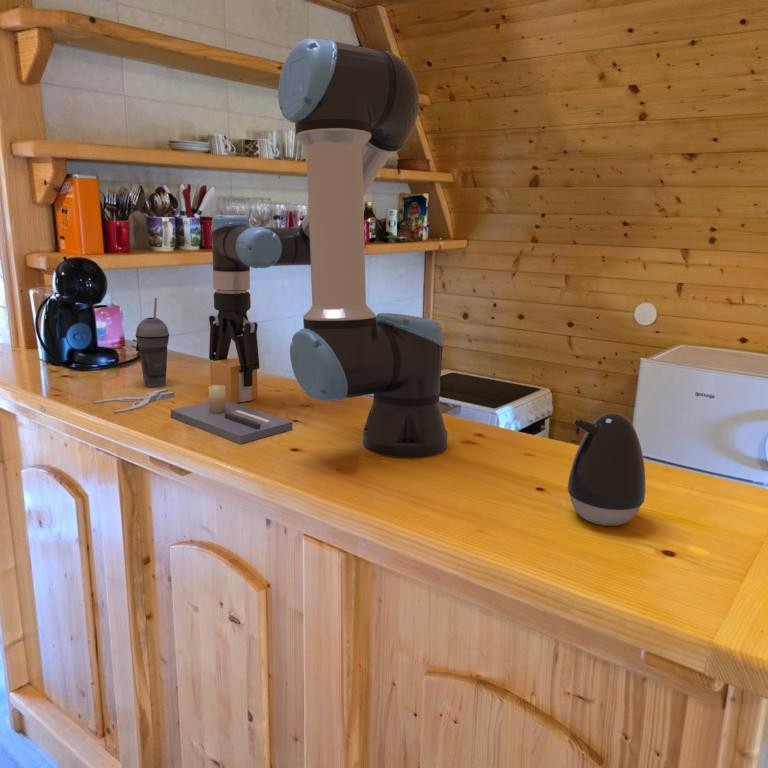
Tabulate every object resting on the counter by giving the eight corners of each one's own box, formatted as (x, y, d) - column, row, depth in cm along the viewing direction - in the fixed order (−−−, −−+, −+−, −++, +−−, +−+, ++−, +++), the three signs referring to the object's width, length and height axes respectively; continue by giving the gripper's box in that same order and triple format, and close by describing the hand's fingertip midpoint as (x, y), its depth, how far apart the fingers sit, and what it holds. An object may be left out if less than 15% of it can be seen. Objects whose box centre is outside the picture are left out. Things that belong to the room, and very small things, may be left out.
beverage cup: (145, 380, 162) (140, 295, 157) (176, 381, 162) (172, 296, 157) (133, 388, 155) (127, 299, 150) (165, 389, 155) (161, 300, 150)
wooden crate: (257, 398, 150) (257, 362, 148) (231, 404, 145) (230, 367, 143) (237, 392, 155) (236, 357, 153) (211, 397, 150) (210, 361, 148)
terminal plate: (292, 429, 130) (292, 396, 128) (240, 444, 121) (239, 408, 120) (221, 405, 144) (220, 375, 142) (170, 417, 135) (169, 385, 134)
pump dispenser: (554, 502, 101) (563, 402, 97) (623, 502, 102) (635, 403, 98) (577, 535, 91) (589, 424, 87) (654, 534, 92) (669, 425, 88)
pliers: (92, 397, 142) (158, 385, 153) (92, 405, 143) (159, 392, 154) (115, 407, 136) (182, 394, 147) (115, 415, 136) (183, 402, 147)
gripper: (277, 294, 141) (277, 403, 146) (218, 285, 153) (221, 385, 159) (247, 297, 135) (249, 410, 141) (189, 287, 148) (193, 391, 153)
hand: (234, 396), depth 150 cm, fingers closed on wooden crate, 7 cm apart
